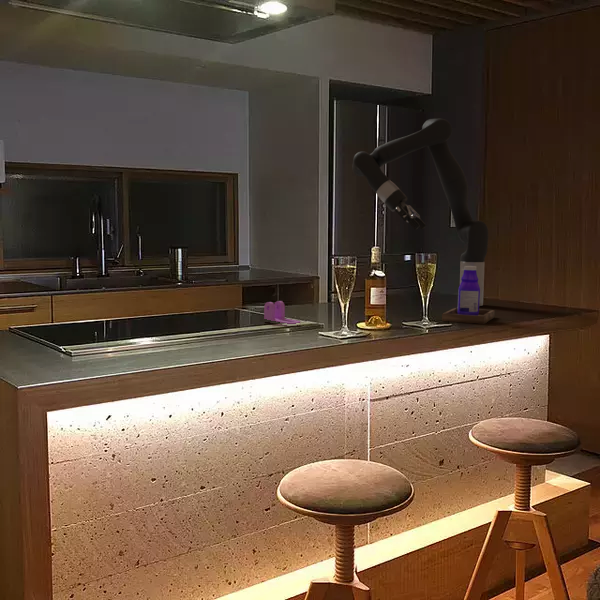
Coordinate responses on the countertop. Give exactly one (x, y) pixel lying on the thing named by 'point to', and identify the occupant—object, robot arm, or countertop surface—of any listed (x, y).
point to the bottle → (469, 292)
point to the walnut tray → (468, 316)
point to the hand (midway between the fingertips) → (421, 227)
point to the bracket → (277, 313)
